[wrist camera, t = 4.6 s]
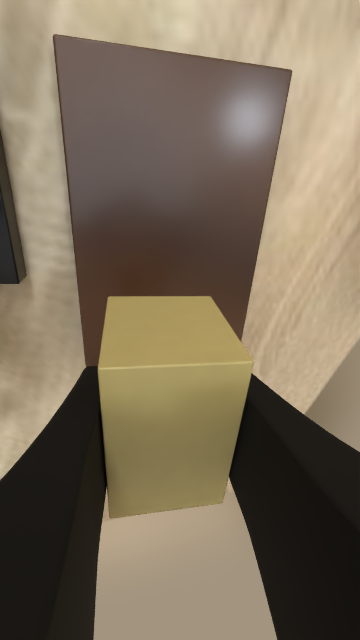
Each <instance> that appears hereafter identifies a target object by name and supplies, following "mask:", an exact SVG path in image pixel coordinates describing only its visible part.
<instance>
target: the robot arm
mask: <svg viewBox="0 0 360 640" xmlns="http://www.w3.org/2000/svg"><path fill="white" fill-rule="evenodd" d="M229 478H230V481H231V484H232V487H233V489H234V492H235V495H236V497H237V500H238V503H239V505H240V508H241V511H242V514H243V516H244V519H245V522H246V525H247V528H248V531H249V534H250V538H251V541H252V545H253V549H254V552H255V556H256V560H257V563H258V567H259V570H260V574H261V577H262V582H263V585H264V589H265V593H266V597H267V601H268V605H269V608H270V612H271V616H272V620H273V624H274V628H275V632H276V636H277V640H360V452H358V451H357V450H355V449H354V448H352V447H351V446H349V445H347V444H346V443H344V442H342V441H341V440H339V439H338V438H336V437H335V436H333V435H332V434H330V433H329V432H327V431H326V430H325V429H323V428H322V427H320V426H319V425H318V424H316V423H315V422H313V421H312V420H311V419H309V418H308V417H306V416H305V415H304V414H302V413H301V412H300V411H298V410H297V409H296V408H294V407H293V406H292V405H290V404H289V403H288V402H287V401H285V400H284V399H283V398H282V397H280V396H279V395H278V394H276V393H275V392H274V391H273V390H272V389H270V388H269V387H268V386H267V385H265V384H264V383H263V382H262V381H261V380H259V379H258V378H257V377H256V376H255V375H253V374H252V373H251V378H250V382H249V387H248V391H247V396H246V400H245V405H244V409H243V414H242V418H241V423H240V427H239V432H238V436H237V441H236V445H235V450H234V454H233V459H232V463H231V468H230V472H229ZM106 488H107V480H106V468H105V455H104V442H103V430H102V417H101V404H100V392H99V379H98V366H87V367H86V368H85V369H84V370H83V372H82V374H81V376H80V377H79V379H78V381H77V382H76V384H75V385H74V387H73V389H72V390H71V392H70V393H69V395H68V396H67V398H66V399H65V401H64V402H63V403H62V405H61V406H60V408H59V409H58V410H57V412H56V413H55V415H54V416H53V417H52V419H51V420H50V421H49V423H48V424H47V425H46V427H45V428H44V429H43V431H42V432H41V433H40V434H39V435H38V437H37V438H36V439H35V440H34V442H33V443H32V444H31V445H30V447H29V448H28V449H27V450H26V452H25V453H24V454H23V455H22V456H21V458H20V459H19V460H18V461H17V462H16V463H15V465H14V466H13V467H12V468H11V469H10V470H9V471H8V473H7V474H6V475H5V476H4V477H3V478H2V479H1V480H0V640H93V635H94V617H95V597H96V580H97V562H98V550H99V541H100V532H101V525H102V517H103V510H104V503H105V495H106Z"/></svg>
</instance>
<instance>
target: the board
mask: <svg viewBox="0 0 360 640" xmlns="http://www.w3.org/2000/svg"><path fill="white" fill-rule="evenodd" d="M53 43H54V53H55V63H56V73H57V83H58V93H59V103H60V114H61V124H62V134H63V144H64V154H65V164H66V174H67V184H68V194H69V204H70V214H71V224H72V234H73V244H74V254H75V264H76V274H77V284H78V294H79V304H80V314H81V324H82V334H83V344H84V354H85V364H86V367H87V366H98V364H99V357H100V349H101V342H102V335H103V328H104V321H105V314H106V307H107V300H108V297H109V296H210V297H211V298H212V299H213V301H214V302H215V304H216V305H217V307H218V308H219V310H220V311H221V313H222V314H223V316H224V317H225V319H226V320H227V322H228V323H229V325H230V326H231V328H232V329H233V331H234V332H235V334H236V335H237V337H238V338H239V340H240V341H241V339H242V334H243V328H244V323H245V318H246V313H247V307H248V302H249V297H250V292H251V286H252V281H253V276H254V270H255V265H256V260H257V255H258V249H259V244H260V239H261V234H262V228H263V223H264V218H265V213H266V207H267V202H268V197H269V191H270V186H271V181H272V176H273V170H274V165H275V160H276V155H277V149H278V144H279V139H280V133H281V128H282V123H283V118H284V112H285V107H286V102H287V97H288V91H289V86H290V81H291V76H292V70H290V69H283V68H277V67H270V66H263V65H257V64H250V63H243V62H237V61H230V60H223V59H217V58H210V57H203V56H197V55H190V54H184V53H177V52H170V51H164V50H157V49H150V48H144V47H137V46H130V45H124V44H117V43H110V42H104V41H97V40H91V39H84V38H77V37H71V36H64V35H57V34H55V35H53Z"/></svg>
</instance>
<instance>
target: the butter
mask: <svg viewBox="0 0 360 640" xmlns="http://www.w3.org/2000/svg"><path fill="white" fill-rule="evenodd" d="M253 364H254V361H253V359H252V358H251V356H250V355H249V353H248V352H247V350H246V349H245V347H244V346H243V344H242V343H241V341H240V340H239V338H238V337H237V335H236V334H235V332H234V331H233V329H232V328H231V326H230V325H229V323H228V322H227V320H226V319H225V317H224V316H223V314H222V313H221V311H220V310H219V308H218V307H217V305H216V304H215V302H214V301H213V299H212V298H211V297H210V296H109V297H108V300H107V307H106V314H105V321H104V328H103V335H102V342H101V349H100V357H99V364H98V379H99V392H100V404H101V417H102V430H103V442H104V455H105V468H106V480H107V493H108V506H109V517H110V518H117V517H125V516H132V515H140V514H147V513H154V512H161V511H169V510H177V509H183V508H191V507H199V506H205V505H213V504H220V503H223V499H224V495H225V490H226V486H227V481H228V477H229V472H230V468H231V463H232V459H233V454H234V450H235V445H236V441H237V436H238V432H239V427H240V423H241V418H242V414H243V409H244V405H245V400H246V396H247V391H248V387H249V382H250V378H251V373H252V369H253Z"/></svg>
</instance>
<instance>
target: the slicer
mask: <svg viewBox="0 0 360 640" xmlns="http://www.w3.org/2000/svg"><path fill="white" fill-rule="evenodd" d="M26 275H27V274H26V269H25V263H24V258H23V252H22V247H21V241H20V236H19V230H18V225H17V219H16V214H15V208H14V203H13V197H12V192H11V186H10V181H9V175H8V170H7V164H6V159H5V153H4V148H3V142H2V137H1V131H0V284H19V283H20V282H21V281H22V280H23V279H24V278H25V277H26Z"/></svg>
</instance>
